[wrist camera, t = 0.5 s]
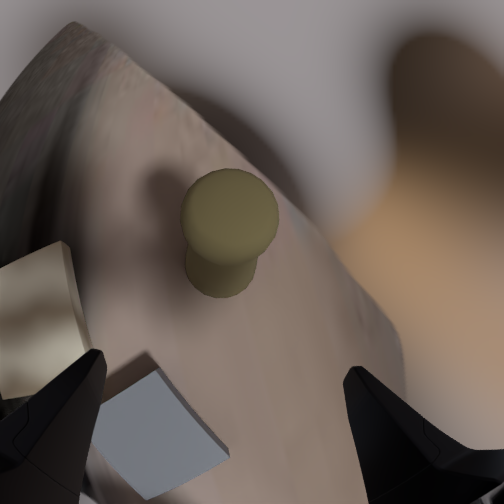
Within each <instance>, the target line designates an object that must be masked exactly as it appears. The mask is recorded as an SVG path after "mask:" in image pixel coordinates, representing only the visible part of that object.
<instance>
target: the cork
mask: <svg viewBox="0 0 504 504" xmlns="http://www.w3.org/2000/svg"><path fill="white" fill-rule="evenodd" d="M180 222H181V226H182V229H183V233H184V236H185V239H186V241H187V242H188V247H187V252H186V257H185V269H186V272H187V276H188V278H189V280H190V281H191V283H192V284H193V286H194V287H195V288H196V289H198V290H199V291H200V292H202V293H203V294H205V295H208V296H211V297H214V298H228V297H231V296H234V295H237V294H239V293H240V292H241V291H243V290H244V289H246V288H247V286H248V285H249V283H250V282H251V281H252V279H253V276H254V273H255V269H256V264H257V259H258V256H259V255H261V254H262V253H264V252H265V250H266V249H267V248H268V246H269V245H270V243H271V242H272V240H273V239H274V238H275V236H276V232H277V228H278V225H279V211H278V204H277V201H276V199H275V197H274V194H273V192H272V191H271V190H270V189H269V188H268V186H267V185H266V184H265V183H264V182H263V181H262V180H261V179H259V178H258V177H256V176H255V175H253V174H252V173H249V172H246V171H243V170H240V169H226V168H225V169H221V170H216V171H212V172H210V173H208V174H206V175H205V176H203V177H201V178H199V179H198V180H197V181H196V182H195V183H194V184H193V185H192V186H191V187H190V188H189V189H188V192H187V194H186V196H185V198H184V200H183V203H182V205H181V215H180Z"/></svg>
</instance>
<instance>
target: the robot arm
mask: <svg viewBox="0 0 504 504" xmlns="http://www.w3.org/2000/svg"><path fill="white" fill-rule="evenodd" d="M106 373H107V364H106V361H105V358H104V355H103V352H102V351H101V350H98V349H93V348H92V349H90V350H88V351H87V352H86V353H85V354H83V355H82V356H81V357H80V358H78V359H77V360H76V361H75V362H73V363H72V364H71V365H70V366H68V367H67V368H66V369H65V370H64V371H62V372H61V373H60V374H59V375H57V376H56V377H55V378H54V379H53V380H51V381H50V382H49V383H48V384H46V385H45V386H44V387H43V388H42V389H40V390H39V391H38V392H37V393H36V394H34V395H33V396H32V397H31V398H30V399H28V401H26V402H25V403H24V404H22V405H21V406H20V407H19V408H17V409H16V410H15V411H14V412H12V413H11V414H10V415H8V416H7V417H5V418H4V419H3V420H1V421H0V504H79V496H80V491H81V485H82V480H83V475H84V470H85V465H86V460H87V456H88V452H89V447H90V443H91V439H92V435H93V431H94V428H95V424H96V420H97V417H98V413H99V409H100V405H101V400H102V394H103V389H104V383H105V378H106ZM343 388H344V394H345V401H346V407H347V414H348V419H349V423H350V427H351V431H352V435H353V439H354V443H355V446H356V450H357V454H358V459H359V463H360V467H361V471H362V475H363V480H364V484H365V489H366V493H367V498H368V503H369V504H504V449H500V450H473V449H470V448H467V447H465V446H463V445H462V444H460V443H459V442H457V441H456V440H454V439H453V438H451V437H449V436H448V435H446V434H445V433H443V432H442V431H440V430H439V429H438V428H436V427H435V426H434V425H432V424H431V423H430V422H429V421H427V420H426V419H425V418H423V417H422V416H421V415H420V414H419V413H418V412H416V411H415V410H414V409H413V408H411V407H410V406H409V405H408V404H407V403H406V402H404V401H403V400H402V399H401V398H399V397H398V396H397V395H396V394H395V393H393V392H392V391H391V390H390V389H389V388H387V387H386V386H385V385H384V384H383V383H381V382H380V381H379V380H378V379H377V378H376V377H374V376H373V375H372V374H371V373H370V372H368V371H367V370H366V369H365V368H364V367H362V366H353V367H351V368H350V370H349V371H348V373H347V375H346V377H345V379H344V381H343Z"/></svg>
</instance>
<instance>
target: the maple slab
mask: <svg viewBox="0 0 504 504" xmlns="http://www.w3.org/2000/svg"><path fill="white" fill-rule="evenodd" d="M92 348H93V345H92V342H91V339H90V335H89V332H88V329H87V325H86V321H85V318H84V314H83V310H82V306H81V302H80V298H79V293H78V289H77V284H76V279H75V274H74V269H73V263H72V257H71V251H70V247H69V246H67V245H66V244H65V243H63V242H62V241H61V240H60V241H58V242H56V243H53V244H51V245H49V246H47V247H44V248H42V249H40V250H38V251H35V252H33V253H31V254H29V255H27V256H25V257H23V258H20V259H18V260H16V261H14V262H12V263H10V264H8V265H6V266H4V267H2V268H0V392H1V395H2V398H3V400H4V399H10V398H16V397H22V396H28V395H33V394H36V393H37V392H38V391H39V390H40V389H42V388H43V387H44V386H45V385H46V384H48V383H49V382H50V381H51V380H53V379H54V378H55V377H56V376H57V375H59V374H60V373H61V372H62V371H64V370H65V369H66V368H67V367H68V366H70V365H71V364H72V363H73V362H75V361H76V360H77V359H78V358H80V357H81V356H82V355H83V354H85V353H86V352H87V351H88V350H90V349H92ZM93 349H94V348H93Z"/></svg>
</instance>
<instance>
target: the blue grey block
mask: <svg viewBox="0 0 504 504" xmlns="http://www.w3.org/2000/svg"><path fill="white" fill-rule="evenodd" d="M91 442H92V443H93V444H94V446H95V447H96V448H97V449H98V451H99V452H100V453H101V454H102V455H103V457H104V458H105V459H106V460H107V461H108V462H109V464H110V465H111V466H112V467H113V468H114V469H115V470H116V471H117V472H118V473H119V474H120V476H121V477H122V478H123V479H124V480H125V481H126V482H127V483H128V484H129V485H130V486H131V487H132V488H133V489H134V490H135V491H136V492H137V493H139V494H140V495H141V496H142V497H143V498H144V499H145V500H149V499H151V498H153V497H156V496H158V495H160V494H163V493H165V492H167V491H169V490H171V489H173V488H175V487H178V486H180V485H182V484H184V483H186V482H188V481H190V480H191V479H193V478H195V477H197V476H199V475H201V474H203V473H204V472H206V471H208V470H210V469H212V468H213V467H215V466H217V465H218V464H220V463H222V462H223V461H225V460H227V459H228V458H230V454H229V450H228V447H227V446H226V445H225V444H224V443H223V442H222V441H221V440H220V439H219V438H218V437H217V436H216V435H215V434H214V433H213V432H212V431H211V429H210V428H209V427H208V426H207V425H206V424H205V423H204V422H203V421H202V419H201V418H200V417H199V416H198V415H197V414H196V412H195V411H194V410H193V409H192V408H191V407H190V405H189V404H188V403H187V402H186V400H185V399H184V398H183V397H182V395H181V394H180V393H179V392H178V390H177V389H176V388H175V387H174V385H173V384H172V383H171V381H170V380H169V379H168V377H167V376H166V375H165V373H164V372H163V371H162V369H161V368H160V367H159V368H158V369H156V370H155V371H153V372H152V373H150V374H149V375H147V376H146V377H144V378H143V379H141V380H139V381H138V382H136V383H135V384H133V385H132V386H130V387H129V388H127V389H125V390H124V391H122V392H121V393H119V394H118V395H116V396H114V397H113V398H111V399H110V400H108V401H106V402H105V403H103V404H101V405H100V409H99V413H98V417H97V420H96V424H95V428H94V431H93V435H92V439H91Z"/></svg>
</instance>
